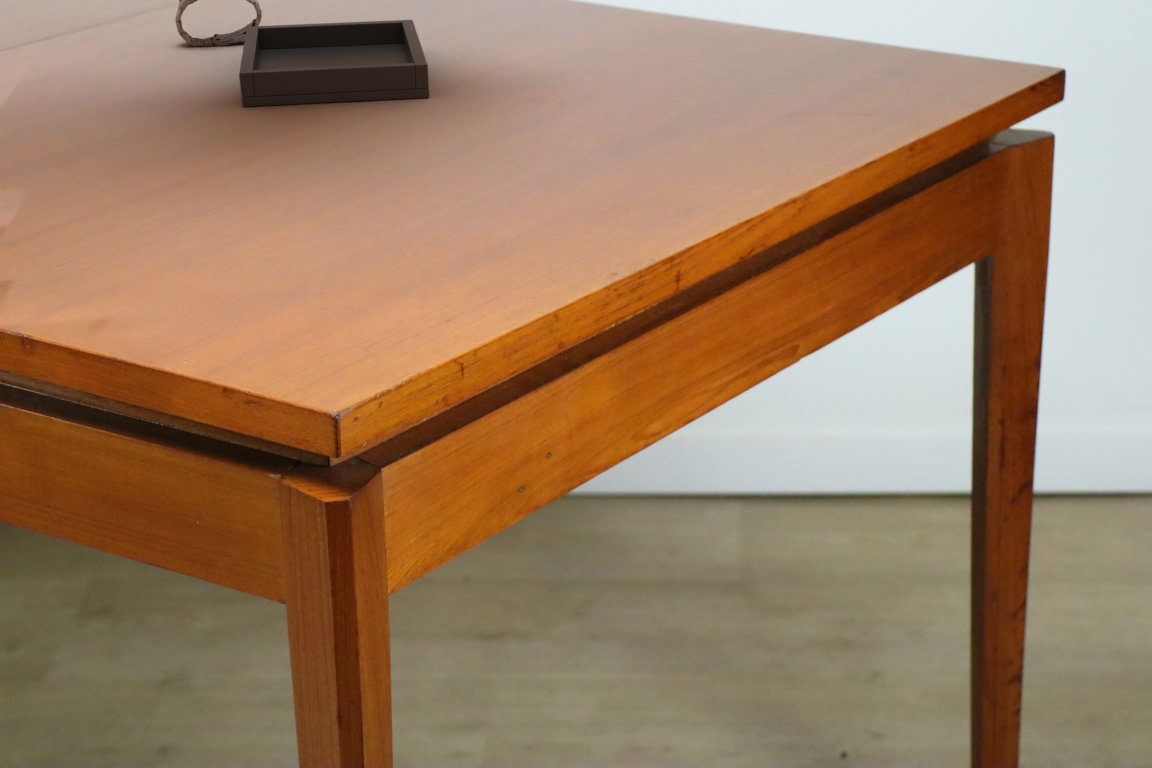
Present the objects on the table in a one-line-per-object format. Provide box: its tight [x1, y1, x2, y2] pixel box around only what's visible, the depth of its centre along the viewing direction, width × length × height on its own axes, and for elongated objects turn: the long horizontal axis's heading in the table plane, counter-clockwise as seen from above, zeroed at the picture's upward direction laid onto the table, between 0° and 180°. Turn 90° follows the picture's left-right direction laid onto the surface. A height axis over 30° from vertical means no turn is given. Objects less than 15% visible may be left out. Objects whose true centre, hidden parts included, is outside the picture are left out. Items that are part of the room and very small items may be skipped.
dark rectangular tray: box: [238, 19, 430, 108], centre depth 101 cm, size 12×15×2 cm
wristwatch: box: [174, 0, 263, 48], centre depth 110 cm, size 4×6×5 cm, turn 99°
